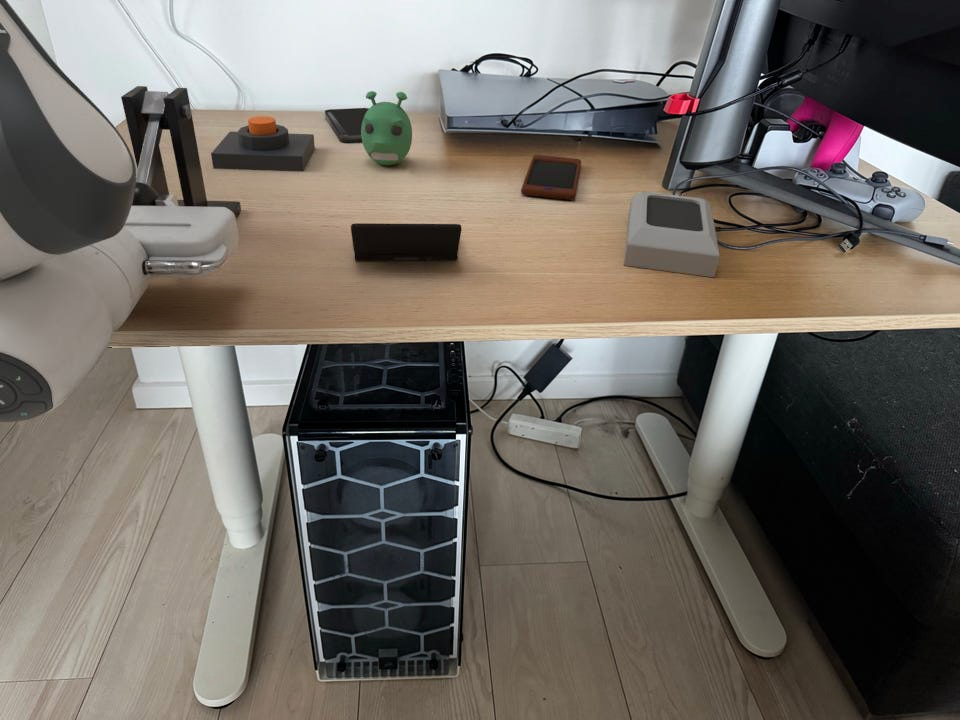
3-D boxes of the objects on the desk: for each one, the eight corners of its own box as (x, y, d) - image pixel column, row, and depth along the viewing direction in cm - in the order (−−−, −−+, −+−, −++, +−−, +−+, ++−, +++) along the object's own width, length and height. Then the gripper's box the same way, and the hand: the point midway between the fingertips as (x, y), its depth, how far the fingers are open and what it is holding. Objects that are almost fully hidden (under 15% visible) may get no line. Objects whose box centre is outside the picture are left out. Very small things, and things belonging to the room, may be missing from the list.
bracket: (214, 255, 74) (187, 110, 66) (115, 252, 73) (76, 105, 65) (241, 210, 84) (221, 80, 75) (155, 208, 83) (125, 76, 75)
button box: (213, 169, 95) (208, 139, 93) (231, 146, 103) (227, 118, 101) (303, 172, 96) (300, 142, 93) (314, 149, 104) (312, 121, 102)
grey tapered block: (629, 233, 74) (633, 185, 87) (623, 265, 76) (628, 214, 89) (722, 245, 73) (713, 195, 85) (714, 277, 75) (706, 223, 87)
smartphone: (520, 188, 91) (533, 153, 104) (520, 195, 92) (532, 159, 104) (575, 194, 90) (581, 158, 103) (574, 201, 91) (580, 164, 103)
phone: (340, 136, 106) (323, 109, 117) (341, 143, 106) (324, 116, 118) (392, 133, 108) (370, 107, 120) (392, 140, 109) (370, 114, 120)
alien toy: (356, 172, 97) (352, 96, 91) (368, 154, 103) (365, 83, 97) (407, 176, 96) (406, 100, 91) (416, 158, 103) (415, 86, 97)
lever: (162, 228, 68) (148, 206, 65) (123, 227, 68) (107, 205, 64) (184, 112, 74) (173, 87, 70) (149, 111, 73) (135, 85, 70)
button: (246, 136, 96) (245, 123, 95) (252, 128, 99) (251, 115, 98) (273, 137, 96) (272, 124, 95) (279, 129, 99) (277, 116, 98)
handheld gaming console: (448, 216, 81) (452, 167, 71) (463, 272, 79) (470, 230, 69) (348, 235, 79) (339, 188, 70) (362, 293, 77) (354, 253, 68)
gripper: (212, 236, 56) (248, 172, 67) (-60, 232, 54) (24, 167, 66) (225, 304, 59) (258, 232, 71) (-29, 302, 58) (45, 230, 69)
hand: (143, 201), depth 68 cm, fingers closed on lever, 3 cm apart
